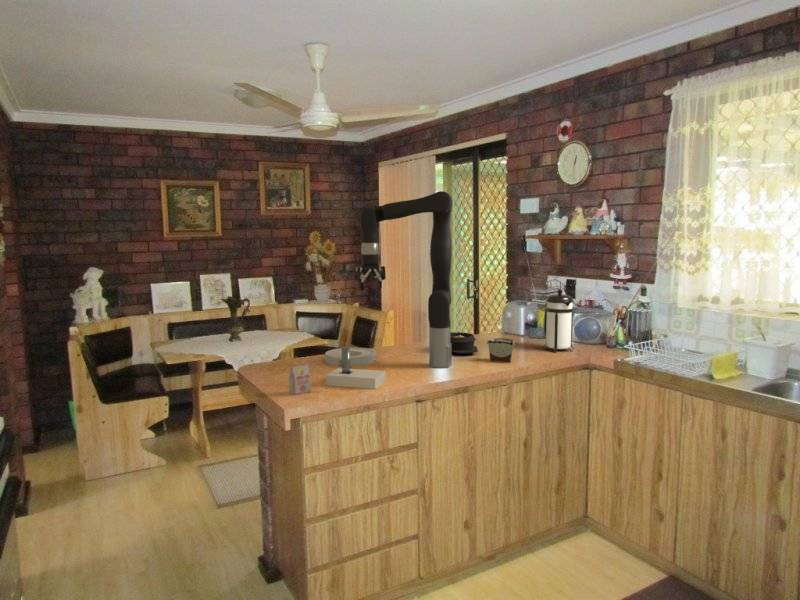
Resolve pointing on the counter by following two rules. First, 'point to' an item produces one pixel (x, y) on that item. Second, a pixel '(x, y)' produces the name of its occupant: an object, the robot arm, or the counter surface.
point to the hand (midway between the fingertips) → (370, 290)
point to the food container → (500, 349)
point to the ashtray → (351, 356)
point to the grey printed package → (299, 380)
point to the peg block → (356, 378)
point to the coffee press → (558, 321)
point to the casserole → (462, 343)
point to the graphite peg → (345, 360)
